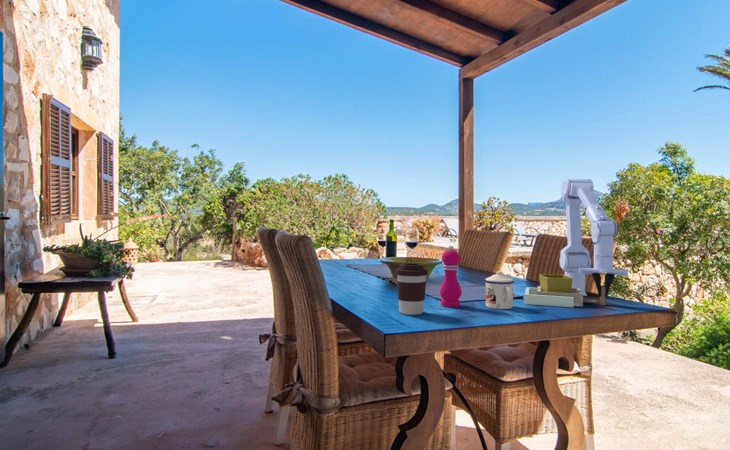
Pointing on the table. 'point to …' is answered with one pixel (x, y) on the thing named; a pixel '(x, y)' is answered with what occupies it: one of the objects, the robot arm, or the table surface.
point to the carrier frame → (576, 296)
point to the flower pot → (555, 283)
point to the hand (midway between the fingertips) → (602, 296)
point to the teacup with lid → (499, 291)
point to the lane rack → (546, 299)
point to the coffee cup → (411, 288)
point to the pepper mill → (450, 279)
